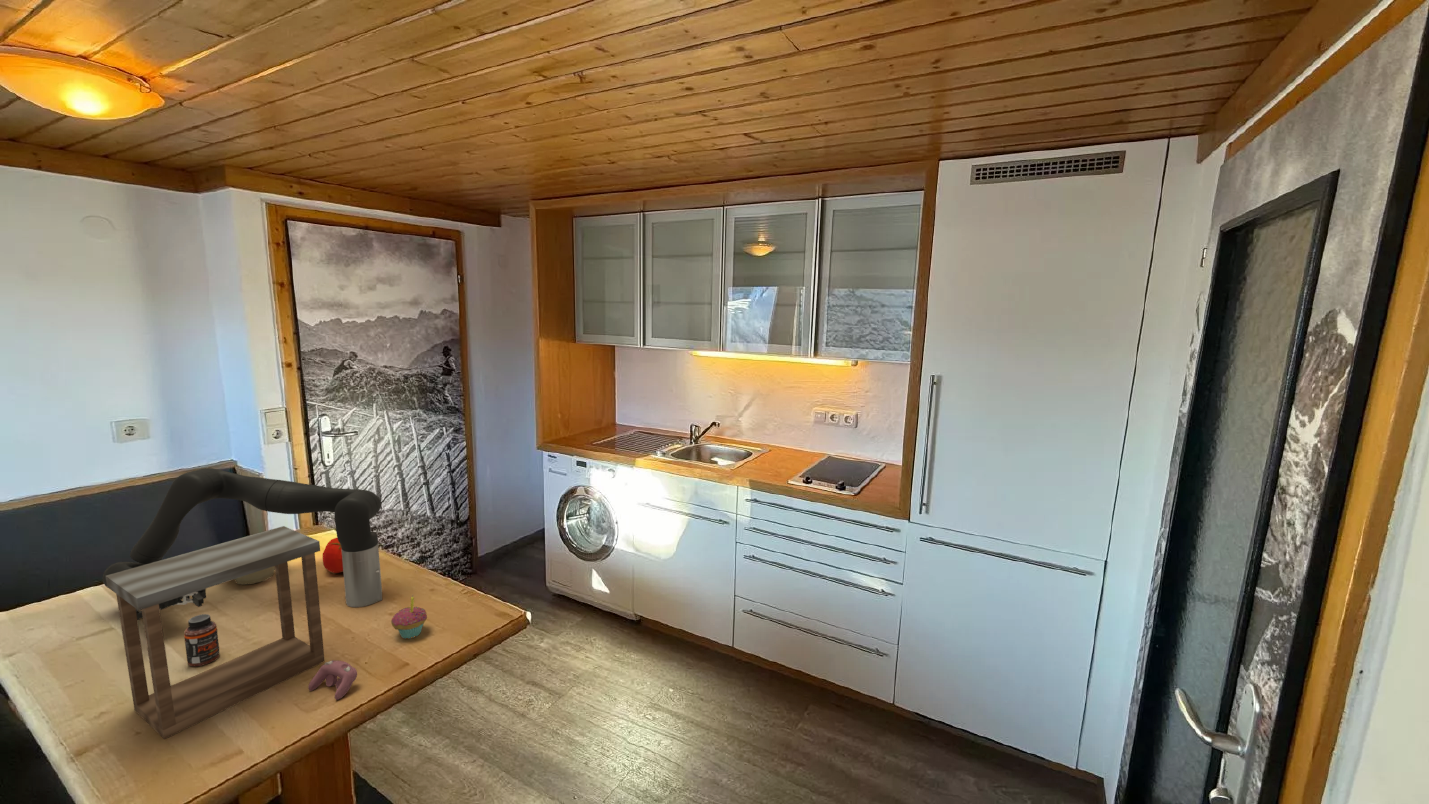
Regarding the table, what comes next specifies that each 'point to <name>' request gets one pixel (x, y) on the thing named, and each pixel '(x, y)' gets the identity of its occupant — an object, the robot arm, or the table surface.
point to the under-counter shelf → (240, 675)
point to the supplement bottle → (201, 640)
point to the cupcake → (409, 620)
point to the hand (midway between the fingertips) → (178, 610)
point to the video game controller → (335, 677)
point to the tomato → (333, 556)
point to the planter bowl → (256, 576)
